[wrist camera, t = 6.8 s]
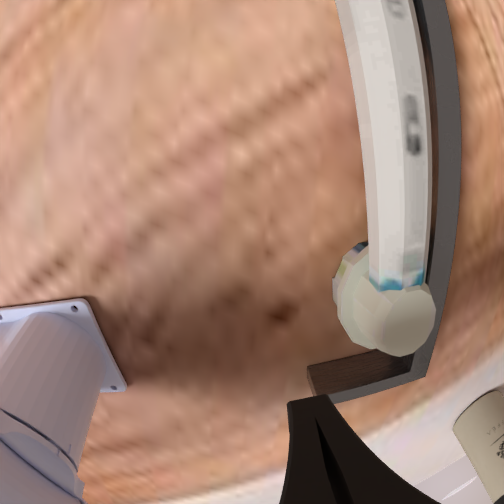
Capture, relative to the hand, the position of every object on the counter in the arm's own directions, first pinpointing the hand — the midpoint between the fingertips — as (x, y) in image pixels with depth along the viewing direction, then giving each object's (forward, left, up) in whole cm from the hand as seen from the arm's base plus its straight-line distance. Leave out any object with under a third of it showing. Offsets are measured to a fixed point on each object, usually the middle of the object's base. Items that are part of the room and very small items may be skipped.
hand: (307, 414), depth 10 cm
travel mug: (+25, -25, -10) cm, 37 cm away
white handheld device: (+6, +9, -10) cm, 15 cm away
